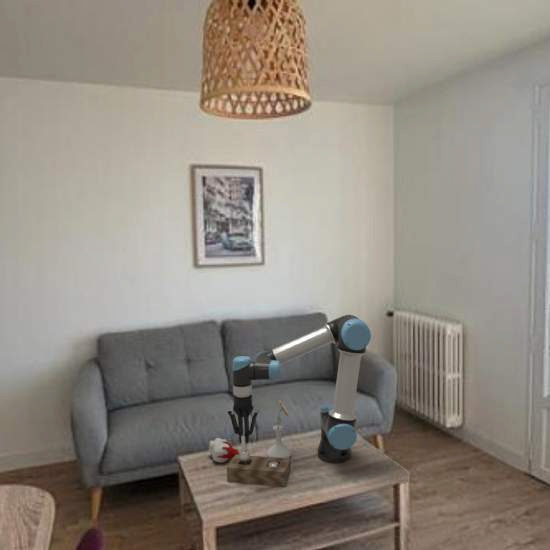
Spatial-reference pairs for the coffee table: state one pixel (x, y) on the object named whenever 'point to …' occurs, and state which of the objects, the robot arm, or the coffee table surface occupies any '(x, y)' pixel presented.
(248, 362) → the robot arm
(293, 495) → the coffee table surface
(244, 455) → the steel peg
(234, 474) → the walnut block
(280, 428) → the flower in vase
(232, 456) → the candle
